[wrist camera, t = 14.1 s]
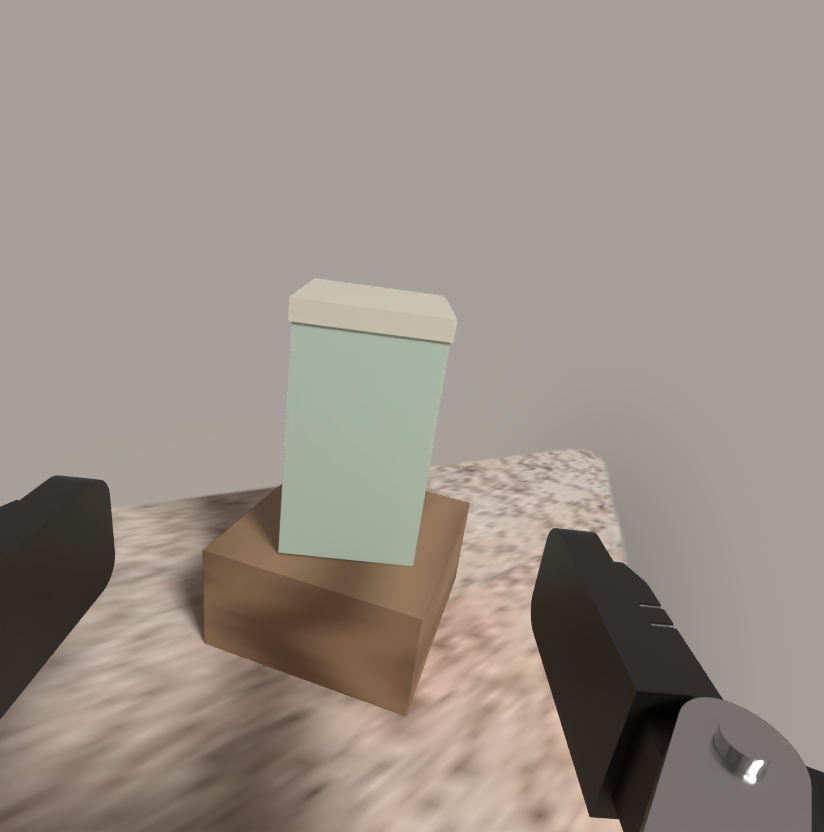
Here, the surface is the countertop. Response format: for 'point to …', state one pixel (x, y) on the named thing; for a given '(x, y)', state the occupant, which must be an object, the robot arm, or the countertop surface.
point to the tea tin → (361, 419)
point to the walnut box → (332, 604)
